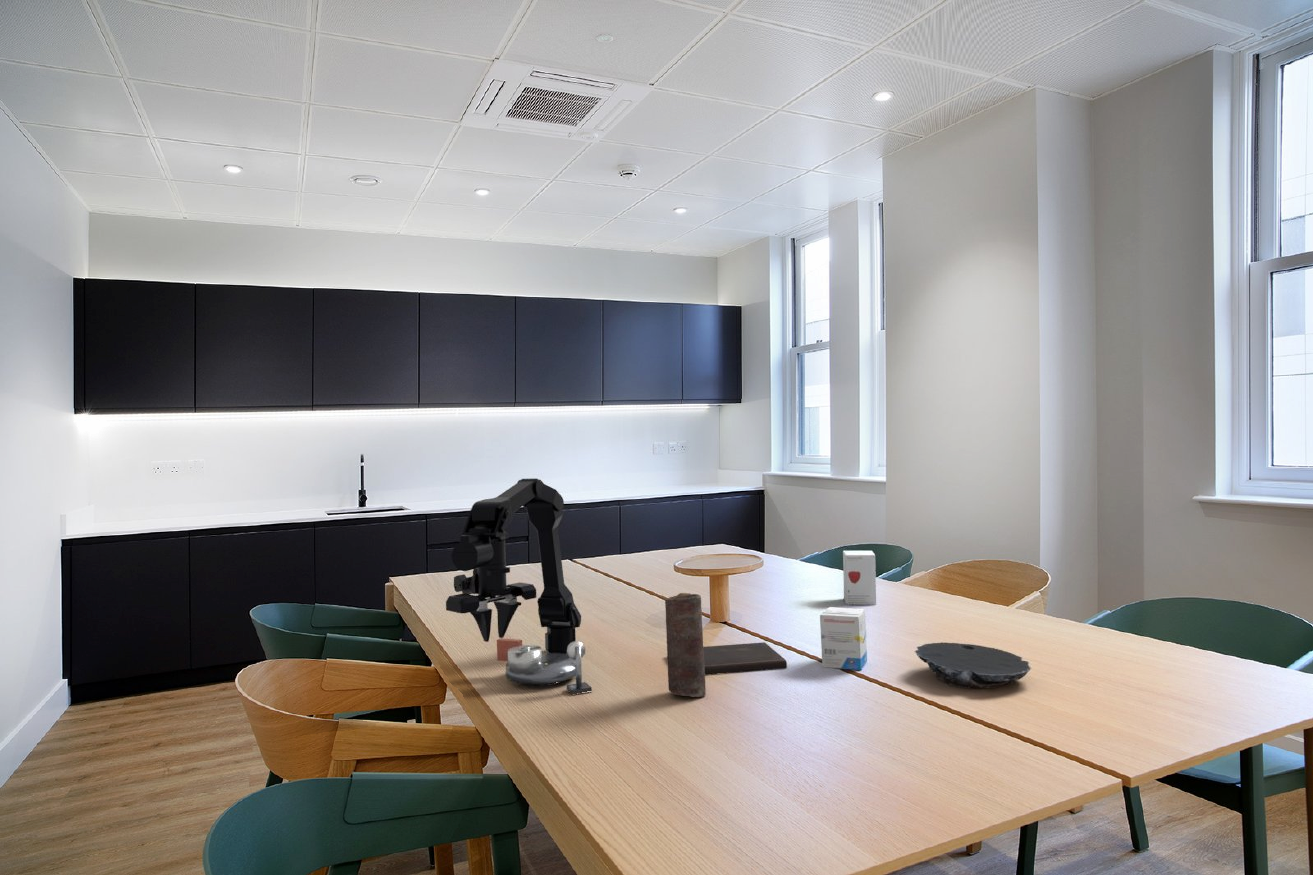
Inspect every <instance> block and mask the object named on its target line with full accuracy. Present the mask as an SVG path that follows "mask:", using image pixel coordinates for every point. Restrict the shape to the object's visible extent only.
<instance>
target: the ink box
mask: <svg viewBox="0 0 1313 875" xmlns="http://www.w3.org/2000/svg"><path fill="white" fill-rule="evenodd" d="M866 611H867V610H866V609H865V608H864V609H861V608H850V607H849V608H848V607H834V606H829V607H828V608H826V609H825V610H824V611H822V613H820V615H819V624H820V640H821V642H820V644H821V648H820V649H821V663H822V664H821V665H822V668H831V669H839V670H840V669H841V670H842V669H843V670H851V671H852V670H853V671H854V670H855V671H858V670H859V671H862V670H863V668H864V667H865V665H866V664H867V661H868V652H867V651H868V650H867V648H868V647H867V621H866V620H867V619H866V618H867V616H866Z"/></svg>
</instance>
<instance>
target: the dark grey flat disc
mask: <svg viewBox="0 0 1313 875" xmlns="http://www.w3.org/2000/svg"><path fill="white" fill-rule="evenodd" d="M914 652H915V654H916V656H917V657H918V658H919V659H920V660H921V661H923V662H924V663H926V664H927V665H928V668H929V670H930V671H931V672H932V673H933V674H935V676H936V677H937V678H938V679H939V681H941V682H942V683H944V684H946V685H950V686H954V687H960V688H962V689H963V688H965V689H973V688H974V690H984V691H985V690H988V689H987V688H989V689H991V688H993V687H994V688H999V687H1001V686H1003V685H1007V684H1008V683H1009V682H1016V681H1018V680H1019V681H1020V680H1021V679H1022V678H1024V677H1025V676H1026V675H1027V674H1028V672H1030V670H1032V668H1031V666H1030V662H1029V661H1027V660H1023V657H1022V656H1019V655H1017V654H1015V653H1012V652H1009V651H1006V650H1003V649H999V648H996V647H989V646H984V645H976V644H973V643H972V644H970V643H969V644H968V643H958V642H931V643H924V644H922V645H920V646H916V650H914Z"/></svg>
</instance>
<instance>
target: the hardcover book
mask: <svg viewBox="0 0 1313 875" xmlns="http://www.w3.org/2000/svg"><path fill="white" fill-rule="evenodd" d="M703 651H704V667H705V674H706V675H705V676H708V675H707V674H711V675H718V674H717V673H724V674H733V673H734V674H735V673H747V672H758V671H759V672H760V671H773V670H782V669H783V670H784V669H788V663H787V660H786V658H784V657H782V655H780V654H779V653H778V652H777V651H776V650H775V649H773V647H771V646H770V645H769V644H767V643H766V642H765V641H764V642H753V643H752V642H751V643H738V644H723V645H710V646H709V645H708V646H703Z"/></svg>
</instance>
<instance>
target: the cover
mask: <svg viewBox="0 0 1313 875" xmlns="http://www.w3.org/2000/svg"><path fill="white" fill-rule="evenodd" d="M542 653H543V652H542V646H539V645H532V644H530V645H529V644H527V645H525V644H524V645H523V644H522V646H517V647H513V648H510V649H509V650H508V661H507V663H508V671H509V672H512V673H519V674H521V673H531V672H536V671H538V670H540V669H541V668H542Z"/></svg>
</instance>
